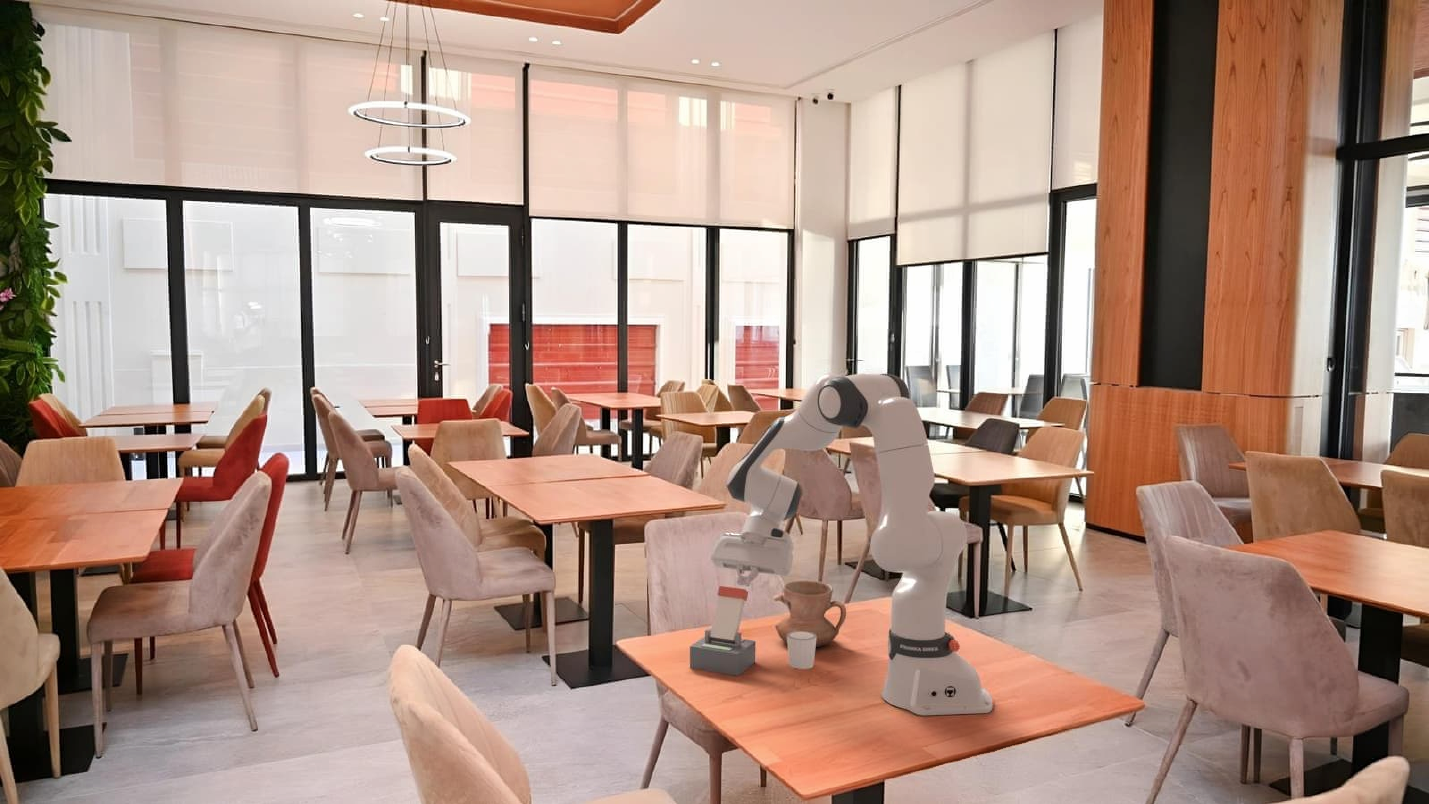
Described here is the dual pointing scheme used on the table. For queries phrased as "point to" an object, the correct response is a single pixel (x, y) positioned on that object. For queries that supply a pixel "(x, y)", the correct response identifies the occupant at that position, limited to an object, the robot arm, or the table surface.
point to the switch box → (722, 655)
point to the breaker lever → (728, 614)
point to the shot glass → (801, 649)
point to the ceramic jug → (809, 610)
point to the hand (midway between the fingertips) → (742, 584)
